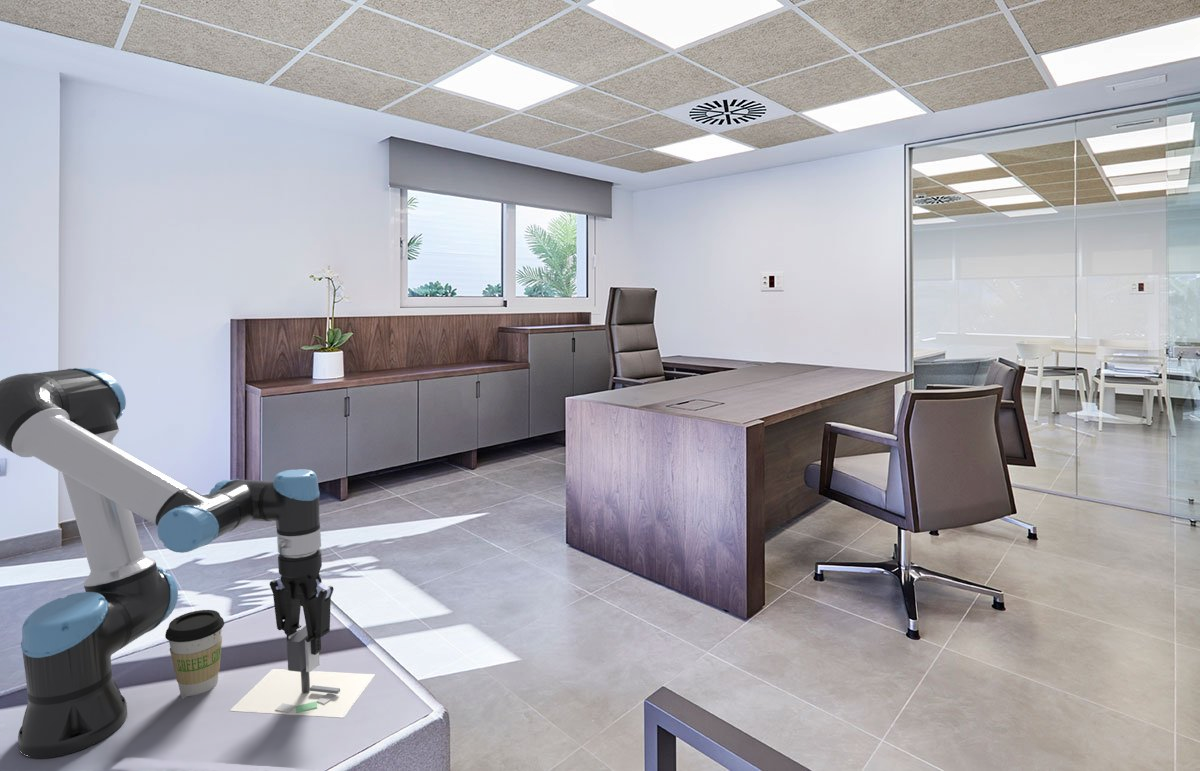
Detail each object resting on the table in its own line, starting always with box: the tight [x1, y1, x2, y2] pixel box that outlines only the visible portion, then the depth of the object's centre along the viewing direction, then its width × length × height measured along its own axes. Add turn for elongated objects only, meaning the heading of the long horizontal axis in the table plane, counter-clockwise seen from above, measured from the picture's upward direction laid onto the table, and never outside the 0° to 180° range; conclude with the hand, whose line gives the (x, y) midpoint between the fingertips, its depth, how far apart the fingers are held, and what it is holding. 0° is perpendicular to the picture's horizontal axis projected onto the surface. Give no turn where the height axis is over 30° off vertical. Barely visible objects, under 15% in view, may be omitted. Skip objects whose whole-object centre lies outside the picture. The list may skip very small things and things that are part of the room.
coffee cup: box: [164, 609, 225, 700], centre depth 126 cm, size 10×10×15 cm
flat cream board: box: [229, 668, 376, 719], centre depth 125 cm, size 22×14×1 cm, turn 86°
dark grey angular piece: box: [286, 625, 340, 694], centre depth 124 cm, size 8×6×12 cm
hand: (304, 666), depth 124 cm, fingers closed on dark grey angular piece, 3 cm apart
